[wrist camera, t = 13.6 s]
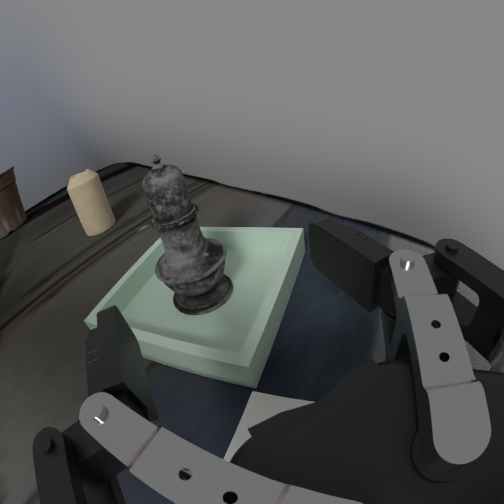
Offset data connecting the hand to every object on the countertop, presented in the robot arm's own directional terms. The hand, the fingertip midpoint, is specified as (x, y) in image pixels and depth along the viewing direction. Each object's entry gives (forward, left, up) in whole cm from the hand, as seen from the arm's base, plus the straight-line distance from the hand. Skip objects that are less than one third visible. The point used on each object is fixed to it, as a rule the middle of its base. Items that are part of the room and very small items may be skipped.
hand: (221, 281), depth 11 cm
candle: (-34, +19, -9) cm, 40 cm away
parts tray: (-8, +8, -9) cm, 14 cm away
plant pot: (-82, +20, -10) cm, 85 cm away
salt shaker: (-8, +8, -9) cm, 14 cm away
